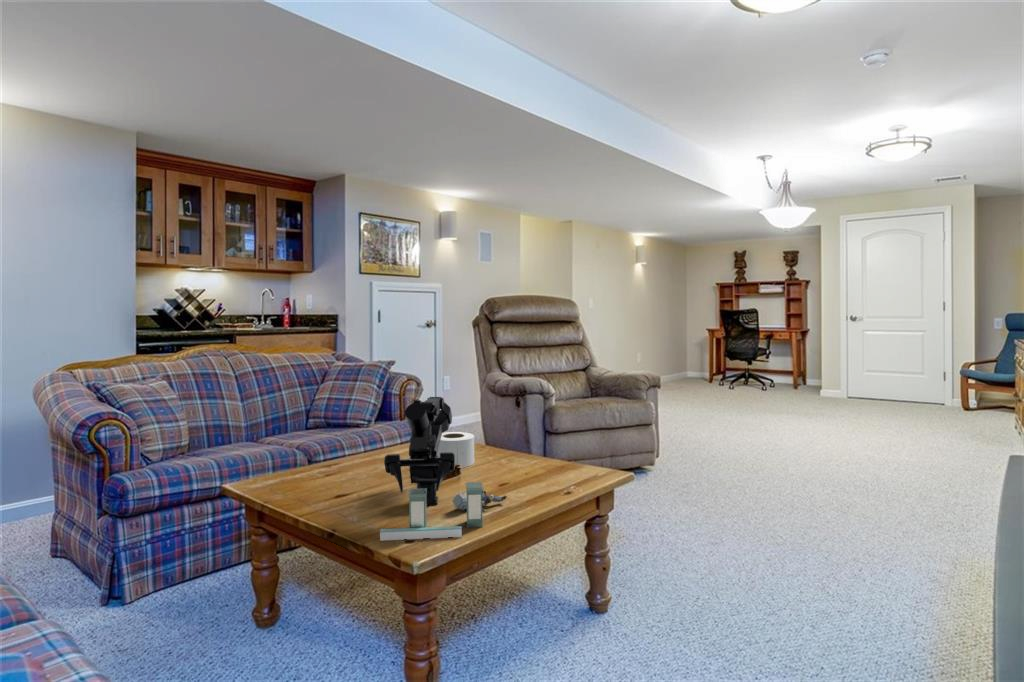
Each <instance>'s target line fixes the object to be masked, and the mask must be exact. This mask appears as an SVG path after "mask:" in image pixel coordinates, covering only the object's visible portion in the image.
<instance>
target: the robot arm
mask: <svg viewBox="0 0 1024 682" xmlns="http://www.w3.org/2000/svg"><path fill="white" fill-rule="evenodd" d="M404 415H405V419H406V422H407V425H408V428H409V429H410V437H409V445H408V446H409V447H408V456H409V458H401V454H400V453H396V454H395V453H394V454H393V453H391V454H389V453H388V454H386V455H385V456H384V467H385V468H384V469H385V473H387V474H389V475H391V476H394V477H395V479H396V480H395V481H396V482H397V484H398V487H399V490H400V493H401V494H402V493H403V491H404V484H403V475H402V467H409V477H410V484H416V489H417V488H427V493H426V496H427V506H434V505H438V502H439V501H438V500H439V496H437V492H438V491H439V490H440V487H441V484H442V483H443V481H444V478H445V477H446V475H448V474H450V473H451V471H452V472H453V471H455V470H456V469H455V455H454V453H453V452H447V453H440V458H438V456H437V452H438V448H439V444H440V440H441V436H442V433H446V432H448V430H449V428H450V425H451V424H452V423H453V414H452V410H451V407H450V406H449V404H447V403H446V402H445V400H444V397H441V396H429V397H427V399H426V400H424V401H422V400H420V399H419V400H417V399H415V400H413V402H412V403H410V404H409V405H407V407H406V408H405V409H404Z"/></svg>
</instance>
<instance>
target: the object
mask: <svg viewBox="0 0 1024 682" xmlns="http://www.w3.org/2000/svg"><path fill="white" fill-rule="evenodd" d="M447 452H453V453H454V455H455V464H458V465H460V467H466V468H468V467H467V466H470V465H472V464H473V463H474V464H475V435H474V434H473V433H470V432H465V431H464V432H463V431H445V432H443V433H442V436H441V440H440V444H439V448H438V452H437V456H438V458H440V453H447ZM474 464H473V465H474ZM473 465H472V466H473ZM470 467H471V466H470Z"/></svg>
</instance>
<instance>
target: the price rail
mask: <svg viewBox="0 0 1024 682" xmlns="http://www.w3.org/2000/svg"><path fill="white" fill-rule="evenodd" d="M462 527H463V526H462V525H459V526H457V525H455V526H454V525H453V526H452V525H451V526H433V527H432V526H431V527H430V526H429V527H428V526H427V527H426V528H410V527H407V528H406V527H405V528H385V529H384V528H382V529H379V538H380V539H379V540H380V541H381V542H382V541H402V540H404V539H407V540H424V539H423V538H430V539H449V538H448V537H453V538H462V537H463V536H462V535H463V533H462V529H463V528H462Z"/></svg>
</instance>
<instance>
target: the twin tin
mask: <svg viewBox="0 0 1024 682" xmlns="http://www.w3.org/2000/svg"><path fill="white" fill-rule="evenodd" d="M465 487H466V491H465V493H466V496H467V510H466V528H467V529H469V528H470V529H471V528H473V527H474V528H483V505H482V490H483V491H484V488H483V482H482V481H474V482H465Z"/></svg>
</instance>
